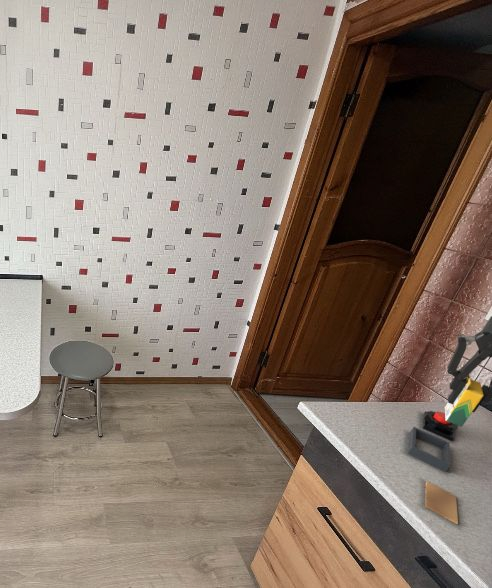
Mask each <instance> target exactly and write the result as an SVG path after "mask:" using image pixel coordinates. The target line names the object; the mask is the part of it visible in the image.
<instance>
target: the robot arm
mask: <svg viewBox="0 0 492 588" xmlns="http://www.w3.org/2000/svg"><path fill="white" fill-rule="evenodd" d="M456 337H457V345H456V348H455V350H454V352H453V354H452V356H451V359H450V361H449V363H448V365H447V368H446V369H447V374H449V375H451V376H453V378H452V379H451V382H450V383H449V390H452V391H451V392H450V393H449V396H448V397H447V403H450V404H453V403H454V402H455V400H456V399H457V397H458V396H459V394H460V393H461V391H462V390H463V388H464V387H465V385H466V384H467V382H466V379H465V378H466V377H467V376H468V375H469V376H470V374H471V373H472V372H473V371H474V370H475V369H476V368H477V367H478V366H479V365H481V363H483V361H485V360H486V359H488V358H492V315H491V316H490V317H489V319H488V320H487V321H486V324H484V326H483V328H482V329H481V331H479V332H478V333H476V334H474V335H465V334H461V333H459V334H457V336H456ZM473 342H475V343H476V347H477V348H478V350H476V352H475V354H473V356H471V358H470V359H468V361H466V363H465V364H463V366H462V367H460V369H458V367H459V366H460V363H461V361H462V359H463V357H464V354H465V353H466V350H467V346H470V345H472V343H473ZM467 378H468V377H467ZM481 387H482V391H483V395H484V396H483V397H482V399H481V400H480V402H479V403H478V404H477V406H476V407H475V409H474V410H473V412H472V413H475V412H477V410H478V408H479V407H480V406H481V404H482V402H485V403H490V402H492V378H491V379H490V382H489V385H486V384H483V385H481Z"/></svg>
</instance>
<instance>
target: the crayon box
mask: <svg viewBox="0 0 492 588" xmlns="http://www.w3.org/2000/svg"><path fill="white" fill-rule="evenodd" d="M465 379H466V382H467V384H466V385H465V387H464V388H463V390H462V391H461V393H460V394H459V396H458V397H457V399H456V400H455V402H454V403H453V404H450V403H448V402H447V403H446V405H445V406H444V413H445V420H446V421H448V422H450V423H453V424H455V425H458V427H460V428H462V427H463V426H464V424H465V423H466V421H467V420H468V419H469V417H470V416H471V415H472V413H474V412H473V410H474V409H475V407H476V406H477V404H478V403H479V402H480V400H481V399H482V397H483V396H484V395H483V391H482V384H481V382H479V381H476V380H474V379H471V376H470V374H469V375H468V376H467V377H466V378H465Z"/></svg>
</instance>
